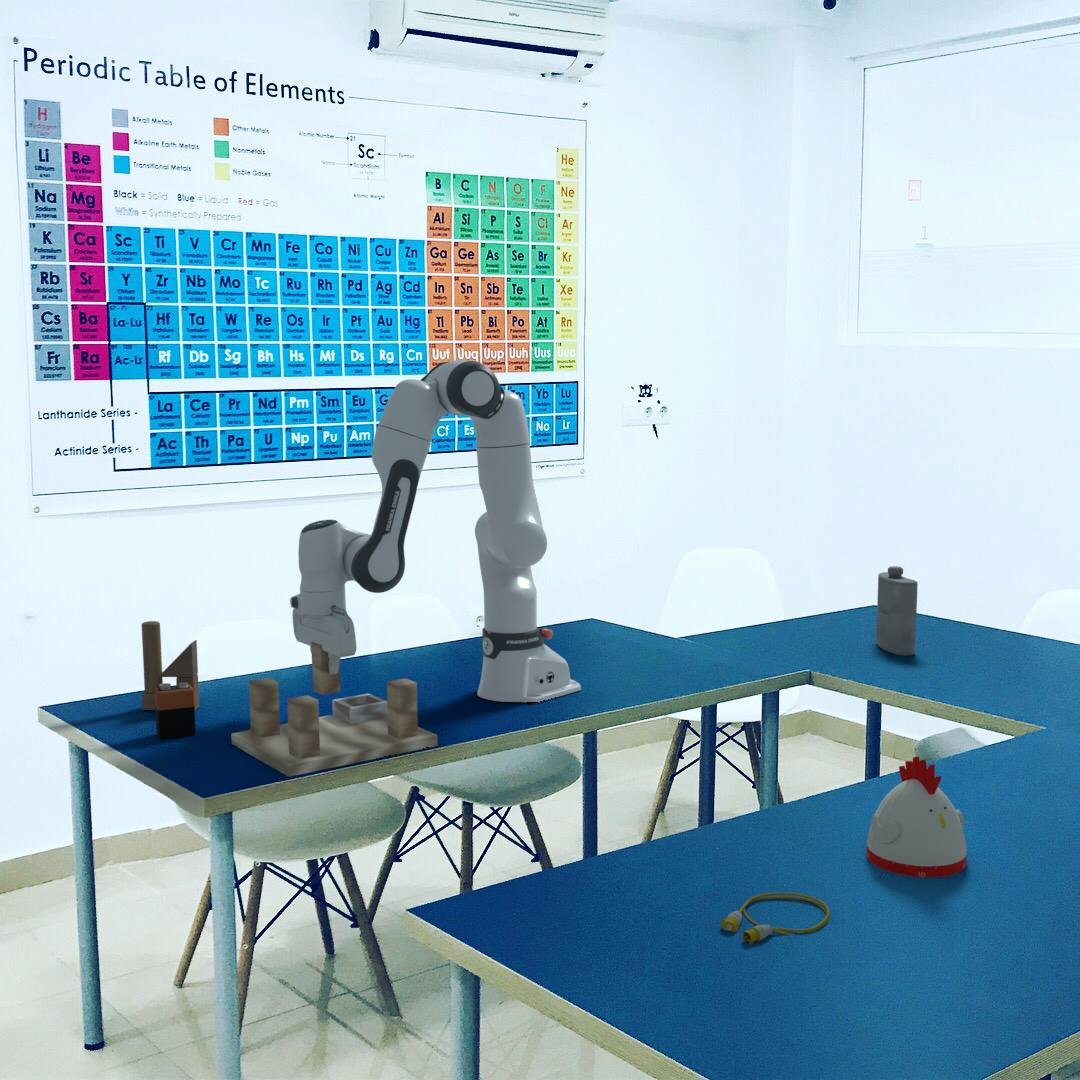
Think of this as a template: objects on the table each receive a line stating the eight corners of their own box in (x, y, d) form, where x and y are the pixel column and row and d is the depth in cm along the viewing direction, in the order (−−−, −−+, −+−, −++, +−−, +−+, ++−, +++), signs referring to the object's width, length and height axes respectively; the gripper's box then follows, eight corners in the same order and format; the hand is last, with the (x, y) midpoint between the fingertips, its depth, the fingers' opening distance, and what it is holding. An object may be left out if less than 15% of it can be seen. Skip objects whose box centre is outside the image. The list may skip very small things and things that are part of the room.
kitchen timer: (907, 884, 186) (911, 778, 184) (846, 849, 199) (849, 751, 196) (987, 868, 192) (991, 765, 189) (923, 836, 204) (927, 739, 202)
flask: (869, 642, 334) (872, 562, 331) (892, 641, 335) (894, 561, 332) (895, 656, 319) (898, 572, 316) (918, 655, 320) (921, 572, 317)
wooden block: (194, 712, 274) (190, 624, 271) (142, 711, 274) (137, 624, 271) (199, 707, 277) (196, 620, 275) (148, 706, 278) (144, 620, 275)
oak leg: (331, 687, 273) (329, 638, 271) (340, 691, 270) (338, 642, 268) (313, 690, 271) (311, 641, 269) (322, 694, 267) (320, 645, 266)
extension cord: (697, 911, 178) (698, 896, 178) (804, 895, 183) (804, 881, 183) (739, 950, 167) (739, 934, 167) (851, 932, 172) (852, 917, 172)
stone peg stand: (373, 717, 269) (372, 658, 267) (437, 745, 250) (436, 682, 248) (231, 743, 252) (229, 680, 250) (288, 776, 233) (286, 708, 231)
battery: (156, 734, 258) (153, 682, 257) (192, 729, 261) (190, 679, 260) (159, 740, 254) (157, 688, 253) (196, 735, 257) (194, 684, 256)
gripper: (362, 608, 261) (365, 678, 263) (314, 593, 277) (317, 659, 279) (333, 612, 257) (336, 683, 259) (285, 597, 274) (289, 664, 276)
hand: (326, 670), depth 270 cm, fingers closed on oak leg, 4 cm apart
